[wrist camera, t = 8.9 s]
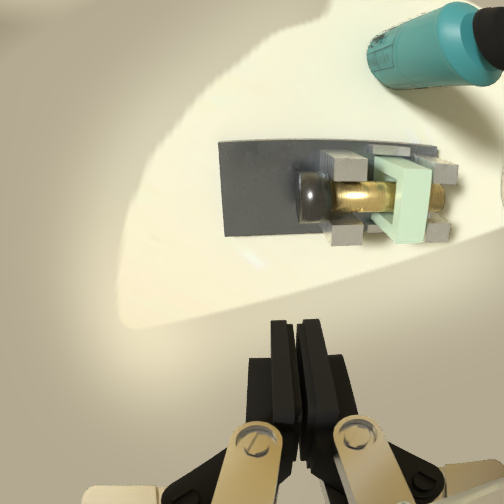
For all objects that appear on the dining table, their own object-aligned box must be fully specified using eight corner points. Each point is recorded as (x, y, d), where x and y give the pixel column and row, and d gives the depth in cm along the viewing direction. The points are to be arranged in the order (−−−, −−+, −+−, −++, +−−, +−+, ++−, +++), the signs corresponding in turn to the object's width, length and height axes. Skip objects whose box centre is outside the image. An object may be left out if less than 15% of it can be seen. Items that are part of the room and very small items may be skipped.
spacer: (399, 156, 31) (432, 170, 24) (394, 218, 34) (422, 242, 27) (374, 155, 31) (404, 168, 24) (370, 218, 34) (396, 243, 27)
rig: (431, 145, 31) (466, 156, 25) (423, 226, 35) (453, 249, 29) (219, 141, 31) (211, 149, 25) (225, 232, 35) (220, 261, 29)
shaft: (428, 170, 30) (452, 180, 26) (424, 211, 32) (445, 227, 28) (294, 167, 30) (303, 177, 26) (295, 213, 32) (302, 231, 28)
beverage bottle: (401, 101, 29) (539, 115, 11) (349, 71, 28) (467, 41, 10) (420, 55, 27) (554, 38, 9) (370, 24, 26) (487, -35, 7)
